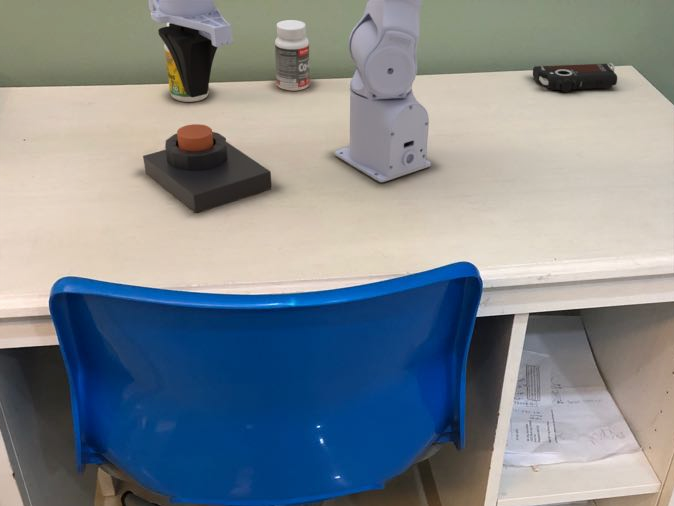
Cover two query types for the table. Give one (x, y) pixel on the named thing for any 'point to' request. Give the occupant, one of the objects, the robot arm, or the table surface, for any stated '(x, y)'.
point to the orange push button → (195, 137)
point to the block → (207, 173)
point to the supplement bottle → (177, 81)
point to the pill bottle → (292, 55)
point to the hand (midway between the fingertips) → (196, 93)
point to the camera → (576, 76)
